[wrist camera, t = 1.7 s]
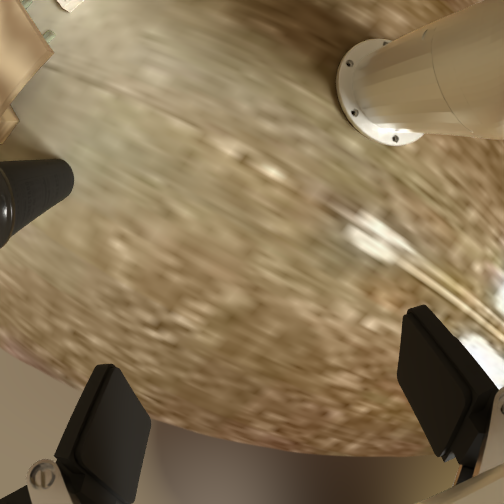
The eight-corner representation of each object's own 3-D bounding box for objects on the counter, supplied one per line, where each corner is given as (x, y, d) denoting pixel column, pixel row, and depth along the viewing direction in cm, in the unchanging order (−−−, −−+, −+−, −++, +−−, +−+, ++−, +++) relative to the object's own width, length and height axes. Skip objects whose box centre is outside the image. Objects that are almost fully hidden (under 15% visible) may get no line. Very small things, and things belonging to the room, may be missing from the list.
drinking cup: (94, 195, 31) (-28, 264, 12) (48, 221, 32) (-66, 296, 13) (71, 135, 28) (-66, 152, 10) (26, 166, 29) (-100, 206, 10)
